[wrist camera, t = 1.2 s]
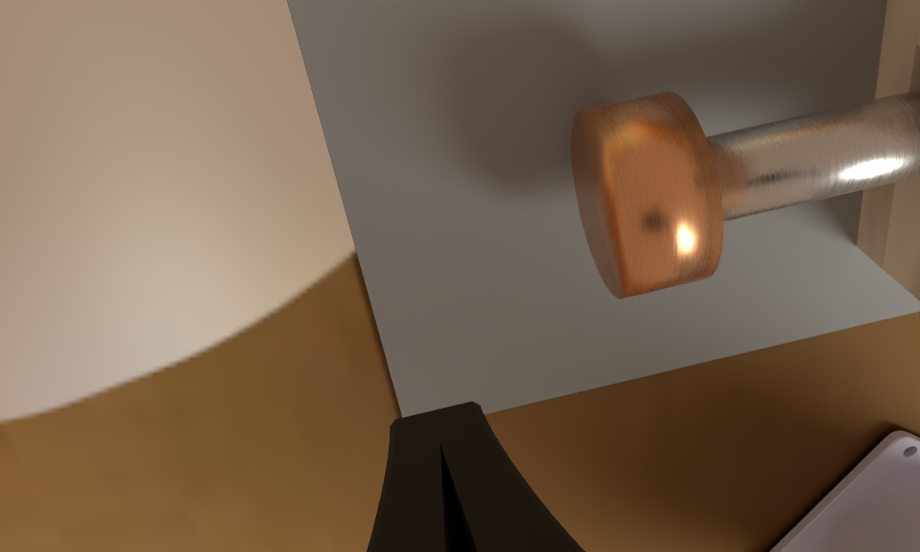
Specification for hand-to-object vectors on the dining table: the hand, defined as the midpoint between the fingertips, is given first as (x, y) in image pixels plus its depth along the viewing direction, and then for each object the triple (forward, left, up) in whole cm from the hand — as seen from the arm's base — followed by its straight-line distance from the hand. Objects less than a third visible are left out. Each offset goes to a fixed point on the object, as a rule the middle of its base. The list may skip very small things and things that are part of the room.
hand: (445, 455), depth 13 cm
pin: (-7, -6, -9) cm, 13 cm away
